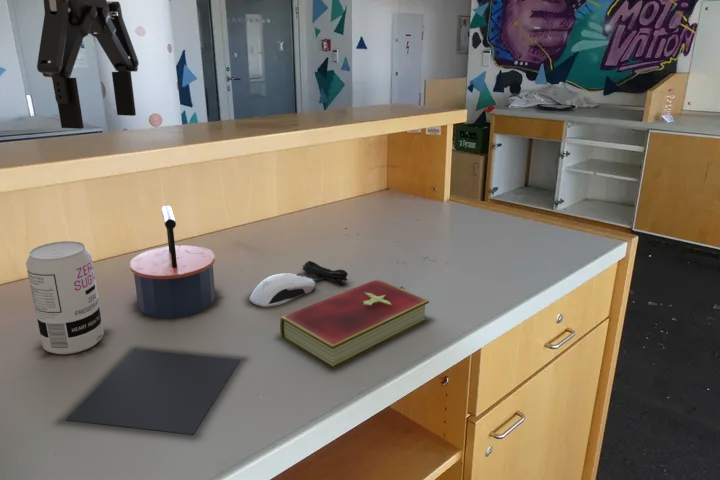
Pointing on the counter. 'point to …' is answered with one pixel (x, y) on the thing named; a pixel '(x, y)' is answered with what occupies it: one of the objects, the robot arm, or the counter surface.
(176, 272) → the lid
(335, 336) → the hardcover book
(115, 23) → the robot arm
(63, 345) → the supplement can
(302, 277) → the computer mouse
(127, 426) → the mat
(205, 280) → the lunch tin
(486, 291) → the counter surface
